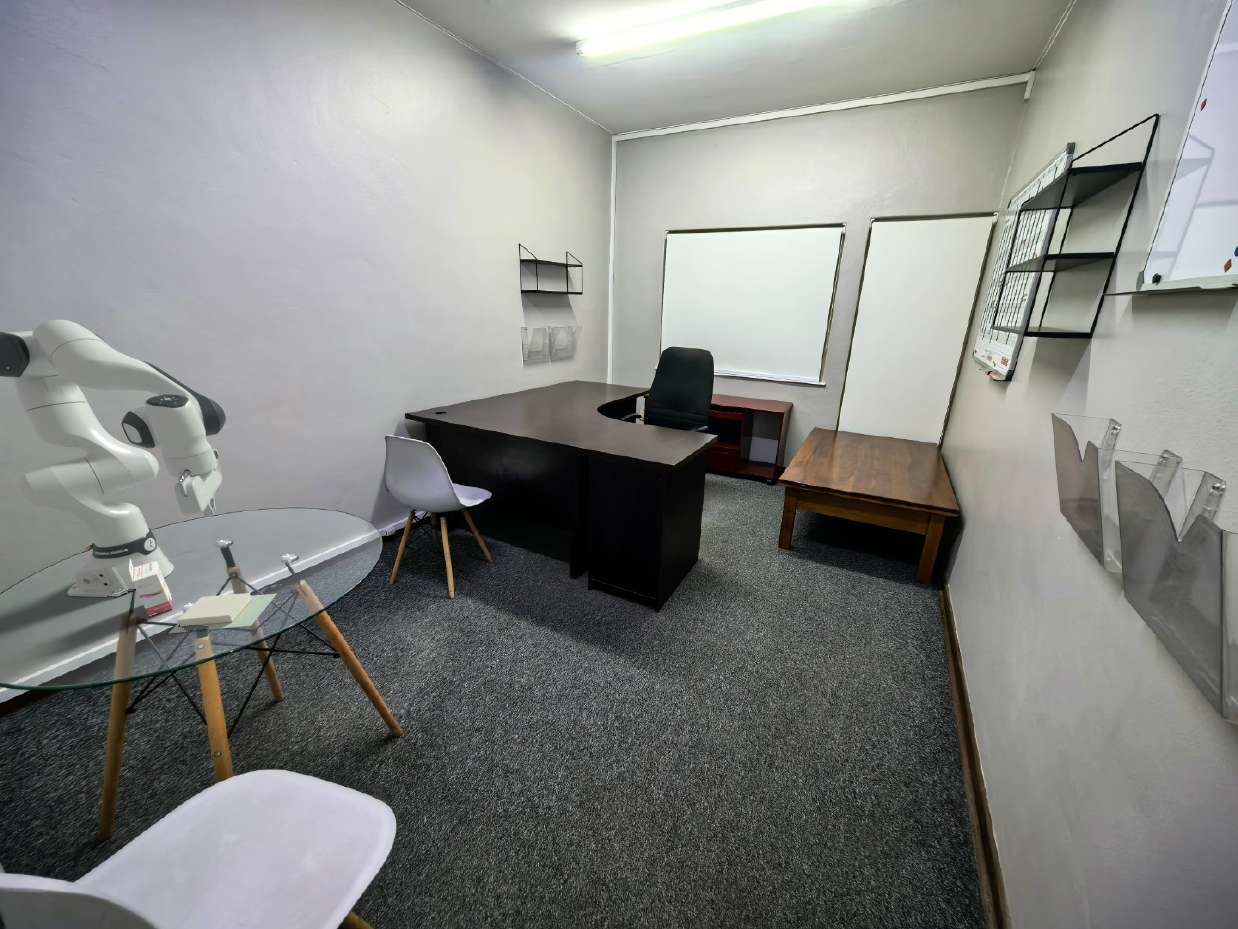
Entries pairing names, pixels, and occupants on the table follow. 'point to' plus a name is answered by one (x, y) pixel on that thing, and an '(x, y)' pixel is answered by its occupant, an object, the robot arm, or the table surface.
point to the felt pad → (241, 614)
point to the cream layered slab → (215, 609)
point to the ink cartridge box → (151, 587)
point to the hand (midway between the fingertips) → (210, 513)
